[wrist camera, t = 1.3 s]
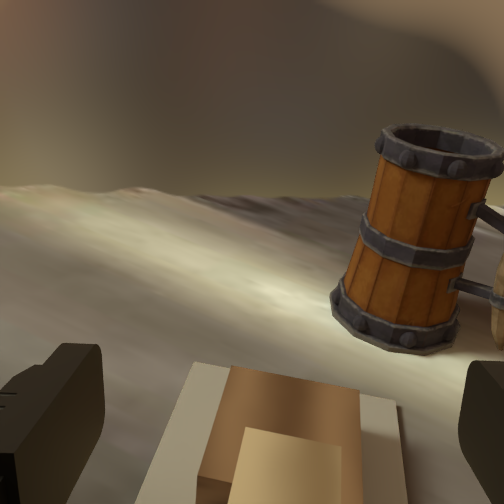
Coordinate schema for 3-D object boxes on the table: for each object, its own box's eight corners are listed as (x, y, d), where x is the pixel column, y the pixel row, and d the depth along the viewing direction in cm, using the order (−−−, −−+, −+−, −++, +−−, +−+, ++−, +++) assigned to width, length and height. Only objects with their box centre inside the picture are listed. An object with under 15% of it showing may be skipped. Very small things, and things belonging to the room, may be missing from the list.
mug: (526, 345, 52) (610, 166, 42) (462, 407, 43) (551, 197, 33) (376, 267, 64) (415, 114, 54) (302, 302, 55) (333, 126, 45)
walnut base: (194, 515, 31) (197, 475, 29) (227, 402, 40) (231, 365, 38) (350, 551, 30) (363, 511, 28) (349, 426, 39) (359, 390, 37)
